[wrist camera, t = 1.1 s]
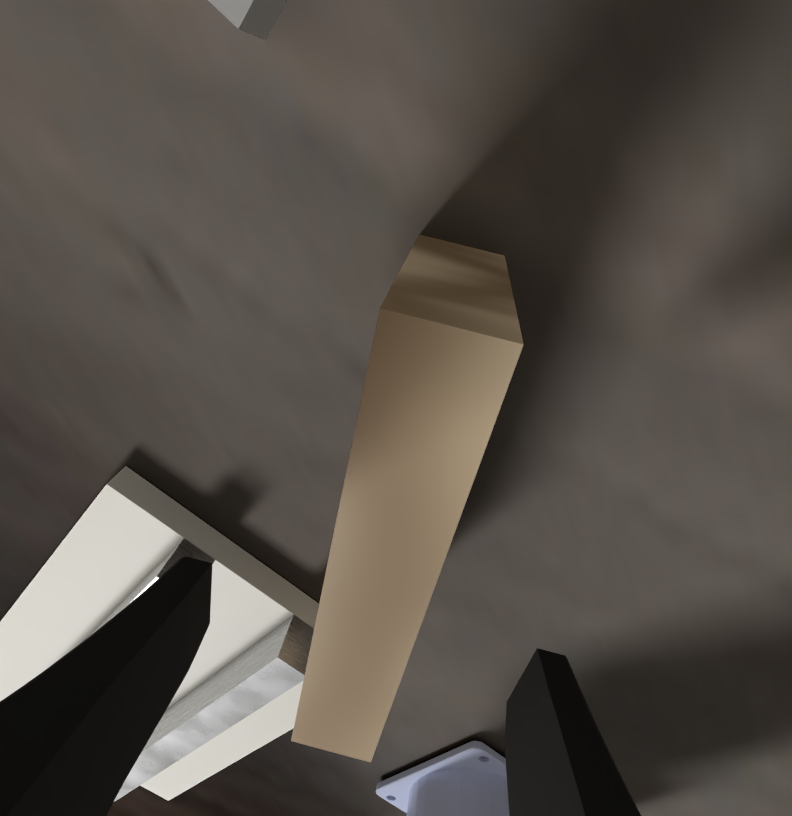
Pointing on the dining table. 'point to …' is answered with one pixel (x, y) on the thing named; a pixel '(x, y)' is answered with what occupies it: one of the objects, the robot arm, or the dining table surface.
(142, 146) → the dining table surface
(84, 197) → the dining table surface
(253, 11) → the award plaque
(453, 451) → the tan wooden frame
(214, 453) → the dining table surface
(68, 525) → the dining table surface
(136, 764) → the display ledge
